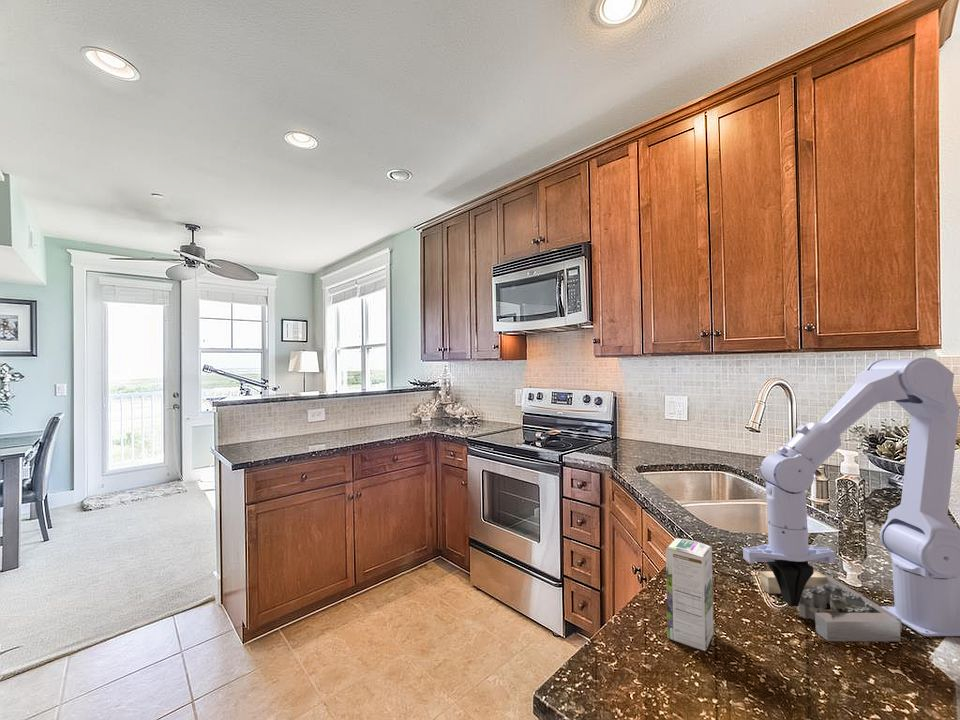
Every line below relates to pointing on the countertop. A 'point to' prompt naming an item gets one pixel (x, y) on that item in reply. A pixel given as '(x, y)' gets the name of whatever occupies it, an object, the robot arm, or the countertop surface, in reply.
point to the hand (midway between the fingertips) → (790, 603)
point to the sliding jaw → (772, 586)
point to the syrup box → (689, 593)
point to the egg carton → (830, 601)
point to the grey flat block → (858, 623)
